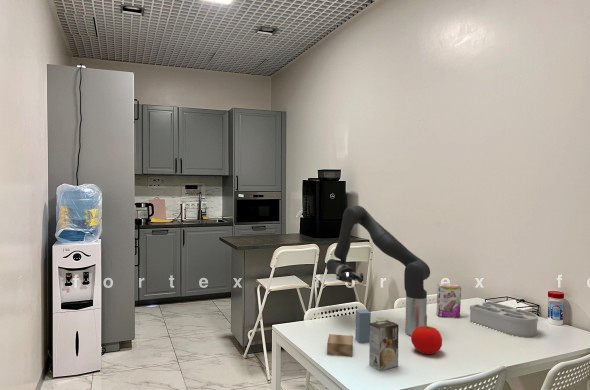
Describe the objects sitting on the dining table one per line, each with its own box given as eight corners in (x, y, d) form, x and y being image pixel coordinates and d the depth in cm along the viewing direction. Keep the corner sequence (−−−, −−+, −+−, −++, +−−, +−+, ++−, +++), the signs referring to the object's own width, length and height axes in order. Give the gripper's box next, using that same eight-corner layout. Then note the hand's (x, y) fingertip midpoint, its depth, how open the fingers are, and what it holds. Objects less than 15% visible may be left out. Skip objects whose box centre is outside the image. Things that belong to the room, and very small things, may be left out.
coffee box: (387, 360, 164) (388, 319, 164) (398, 366, 159) (399, 324, 158) (368, 364, 160) (369, 322, 160) (379, 371, 154) (380, 328, 154)
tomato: (438, 360, 165) (439, 333, 165) (407, 352, 172) (408, 327, 171) (444, 350, 175) (445, 325, 174) (415, 344, 181) (416, 320, 181)
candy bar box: (438, 317, 218) (439, 285, 218) (436, 314, 223) (436, 283, 223) (460, 318, 217) (461, 286, 217) (457, 315, 222) (458, 284, 222)
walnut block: (352, 347, 177) (352, 335, 177) (352, 357, 167) (352, 344, 167) (329, 345, 179) (329, 334, 179) (327, 355, 169) (327, 342, 169)
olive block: (387, 349, 175) (388, 318, 175) (388, 353, 170) (389, 322, 170) (375, 348, 176) (376, 317, 176) (376, 353, 171) (376, 321, 171)
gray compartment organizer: (488, 317, 220) (489, 301, 220) (544, 334, 196) (544, 315, 196) (469, 322, 211) (469, 305, 211) (525, 341, 187) (525, 321, 187)
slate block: (366, 338, 187) (366, 309, 187) (370, 342, 182) (370, 312, 182) (355, 338, 186) (355, 309, 186) (359, 343, 181) (359, 313, 181)
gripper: (331, 265, 209) (341, 273, 192) (358, 265, 212) (371, 272, 195) (331, 280, 209) (341, 289, 192) (358, 280, 212) (370, 288, 195)
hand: (356, 280), depth 194 cm, fingers open, 4 cm apart
